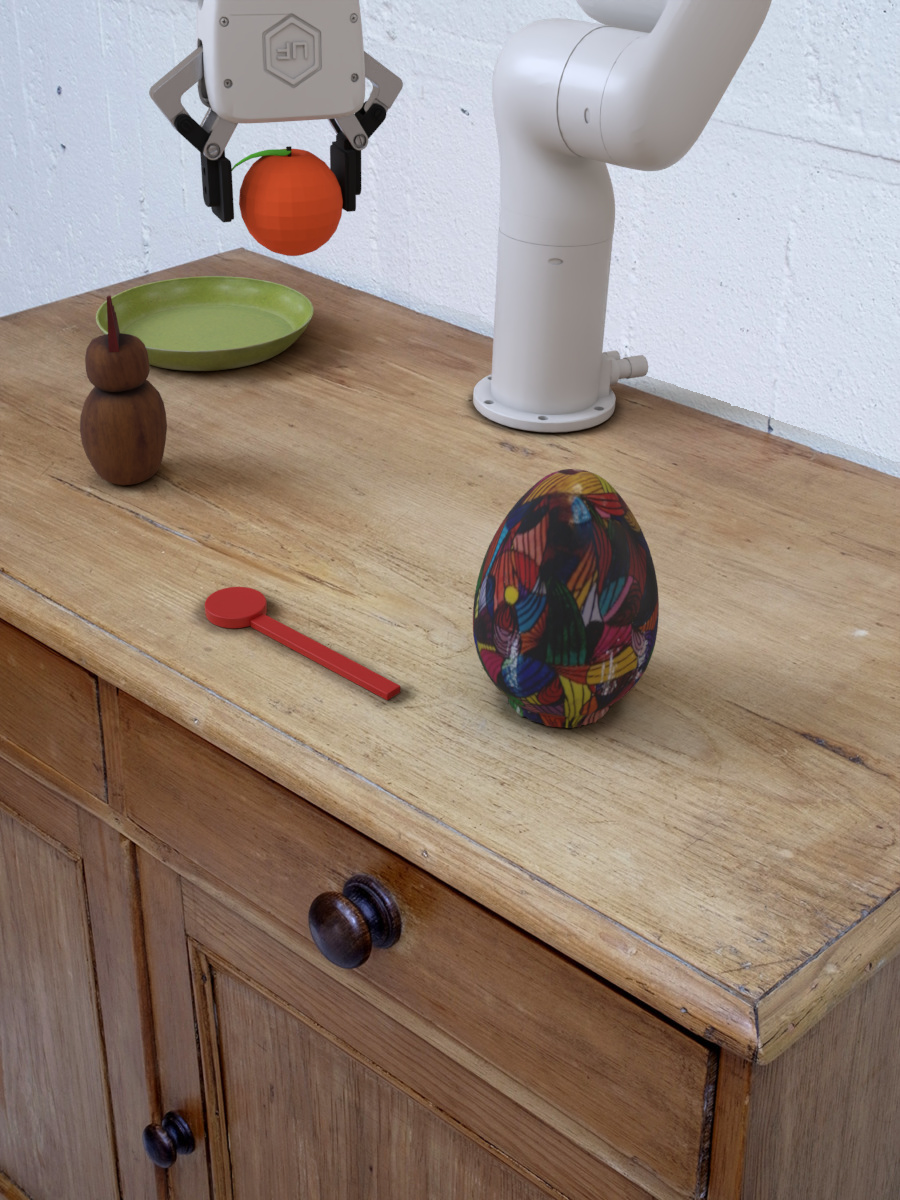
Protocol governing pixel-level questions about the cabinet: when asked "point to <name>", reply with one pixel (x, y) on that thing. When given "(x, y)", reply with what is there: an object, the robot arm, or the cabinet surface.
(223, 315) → the saucer
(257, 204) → the clementine
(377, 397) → the cabinet surface
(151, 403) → the wooden figurine
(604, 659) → the egg
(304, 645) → the spoon
